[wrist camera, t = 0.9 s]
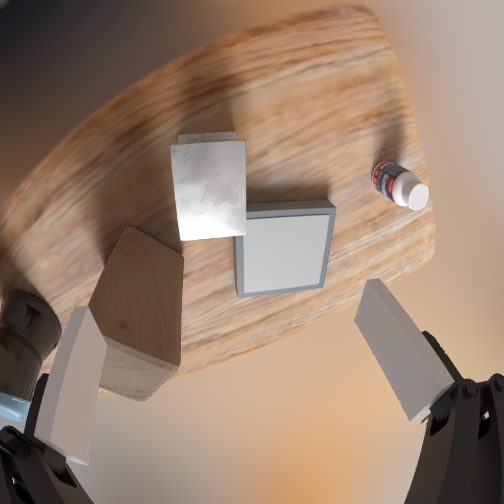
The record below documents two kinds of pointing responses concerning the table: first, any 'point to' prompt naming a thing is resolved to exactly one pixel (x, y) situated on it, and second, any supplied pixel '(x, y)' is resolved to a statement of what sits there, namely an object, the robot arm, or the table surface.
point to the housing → (210, 184)
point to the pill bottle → (399, 185)
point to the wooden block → (139, 315)
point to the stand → (283, 247)
